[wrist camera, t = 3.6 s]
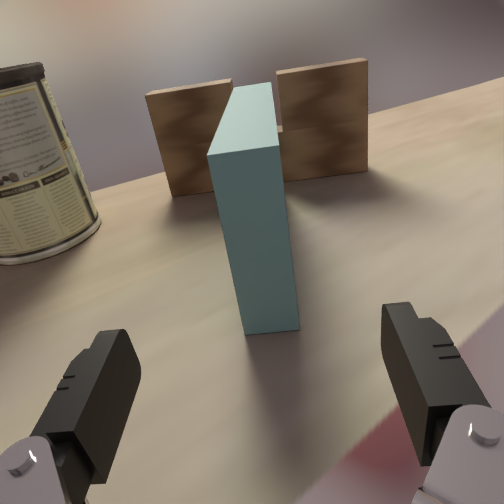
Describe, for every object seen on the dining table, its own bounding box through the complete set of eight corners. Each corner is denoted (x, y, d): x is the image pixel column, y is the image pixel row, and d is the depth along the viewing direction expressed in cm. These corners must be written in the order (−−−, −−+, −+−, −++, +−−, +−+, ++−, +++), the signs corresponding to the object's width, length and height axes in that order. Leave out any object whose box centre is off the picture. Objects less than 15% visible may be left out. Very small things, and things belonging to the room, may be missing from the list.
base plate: (172, 196, 41) (144, 95, 36) (176, 187, 43) (151, 91, 38) (367, 171, 39) (368, 60, 34) (362, 162, 41) (361, 57, 36)
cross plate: (244, 334, 21) (206, 155, 16) (252, 201, 37) (233, 87, 32) (300, 329, 21) (279, 145, 16) (284, 196, 36) (270, 81, 31)
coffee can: (-35, 254, 36) (-134, 92, 29) (62, 206, 43) (2, 67, 36) (24, 276, 30) (-80, 84, 23) (124, 218, 38) (67, 57, 30)
